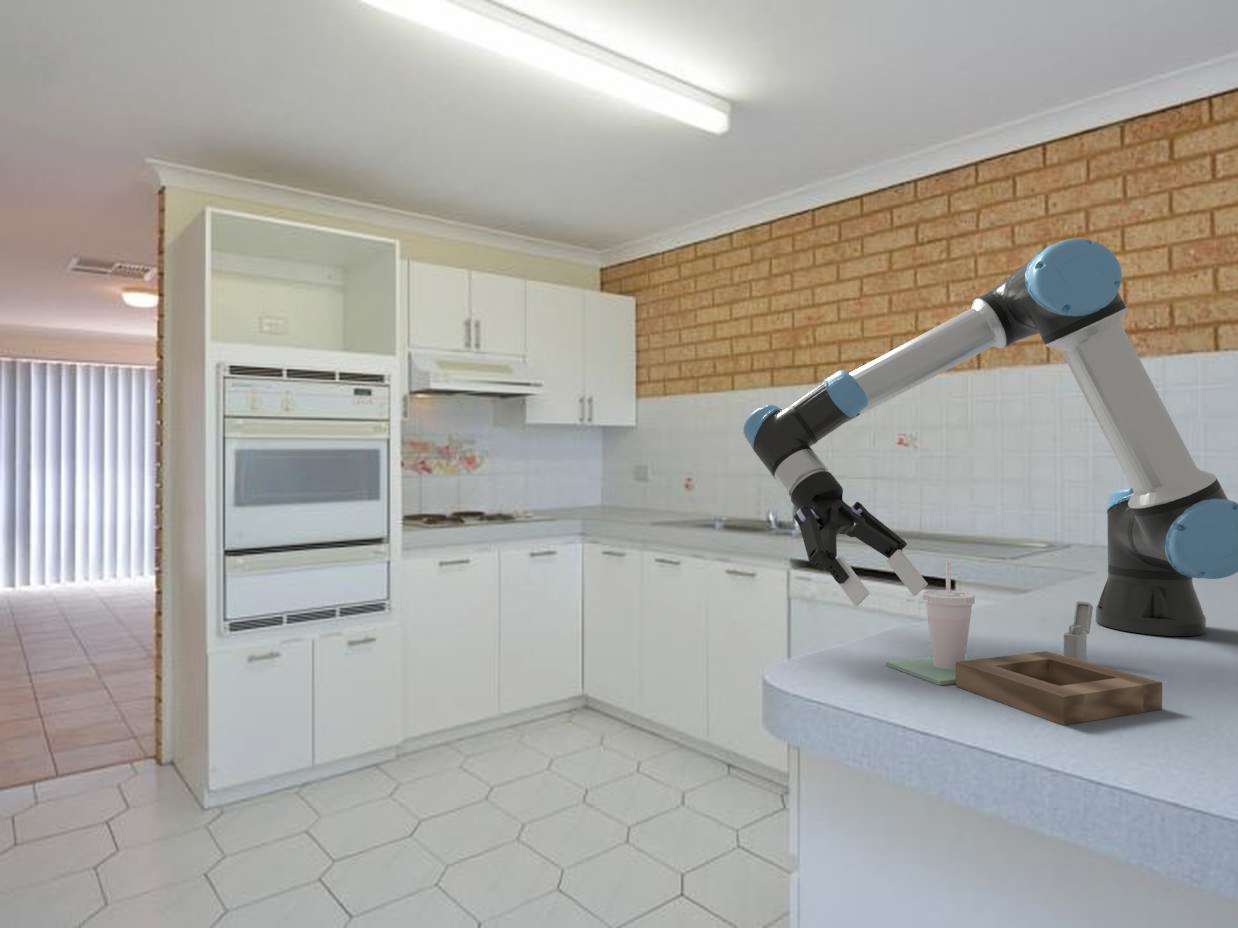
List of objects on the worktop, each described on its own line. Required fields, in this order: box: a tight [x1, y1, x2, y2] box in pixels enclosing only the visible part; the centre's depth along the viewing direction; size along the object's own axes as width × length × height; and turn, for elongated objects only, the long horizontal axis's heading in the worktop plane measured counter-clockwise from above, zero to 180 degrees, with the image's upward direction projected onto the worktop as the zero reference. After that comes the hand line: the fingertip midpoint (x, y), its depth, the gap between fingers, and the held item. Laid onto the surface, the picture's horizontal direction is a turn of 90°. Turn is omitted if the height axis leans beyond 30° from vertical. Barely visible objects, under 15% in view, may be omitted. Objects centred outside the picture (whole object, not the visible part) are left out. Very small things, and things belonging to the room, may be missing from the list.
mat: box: [885, 656, 975, 686], centre depth 103 cm, size 12×10×1 cm
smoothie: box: [922, 559, 976, 670], centre depth 103 cm, size 6×6×14 cm
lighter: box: [1063, 601, 1094, 662], centre depth 107 cm, size 7×2×8 cm, turn 134°
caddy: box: [955, 650, 1163, 726], centre depth 91 cm, size 15×15×3 cm
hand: (892, 594), depth 109 cm, fingers open, 13 cm apart
